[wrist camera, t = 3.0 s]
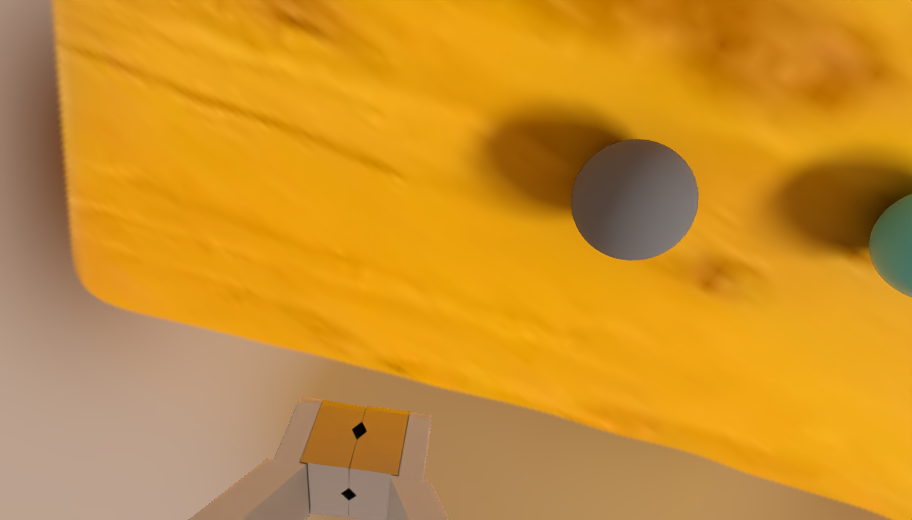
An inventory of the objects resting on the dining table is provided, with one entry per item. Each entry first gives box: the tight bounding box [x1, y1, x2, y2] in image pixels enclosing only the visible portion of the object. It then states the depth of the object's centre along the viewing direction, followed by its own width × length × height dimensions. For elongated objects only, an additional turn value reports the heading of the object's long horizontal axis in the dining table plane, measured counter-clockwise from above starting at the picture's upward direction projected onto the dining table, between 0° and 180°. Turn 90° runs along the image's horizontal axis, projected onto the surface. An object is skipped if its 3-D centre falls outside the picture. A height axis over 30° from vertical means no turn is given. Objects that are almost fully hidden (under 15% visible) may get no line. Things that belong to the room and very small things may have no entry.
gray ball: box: [571, 139, 698, 260], centre depth 24 cm, size 6×6×6 cm
